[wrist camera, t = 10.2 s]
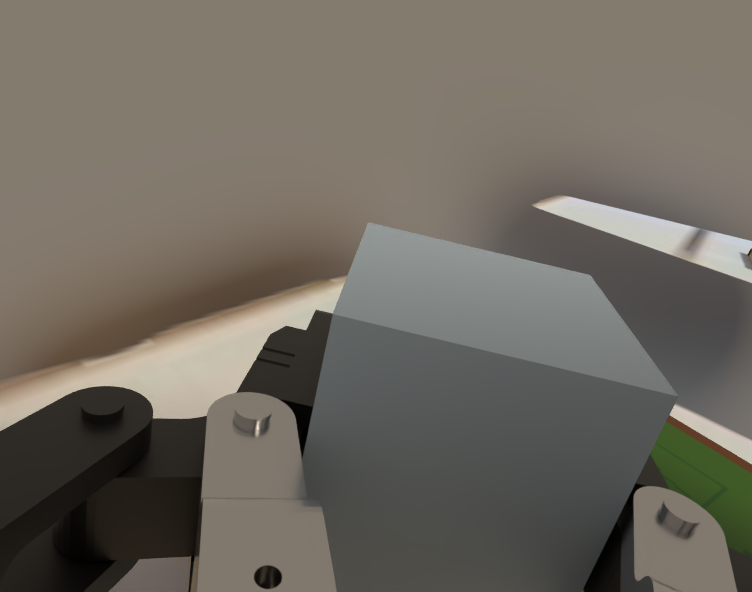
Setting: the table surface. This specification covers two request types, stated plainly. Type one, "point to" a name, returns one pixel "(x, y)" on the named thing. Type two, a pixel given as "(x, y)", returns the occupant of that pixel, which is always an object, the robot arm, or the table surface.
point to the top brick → (475, 421)
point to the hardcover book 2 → (750, 254)
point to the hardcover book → (708, 479)
